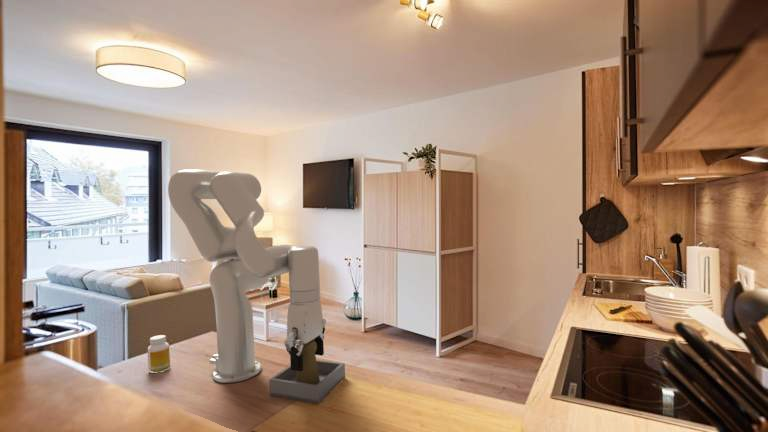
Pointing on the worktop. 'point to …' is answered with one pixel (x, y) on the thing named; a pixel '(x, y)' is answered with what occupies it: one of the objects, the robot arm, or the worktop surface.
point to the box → (290, 389)
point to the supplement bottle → (158, 354)
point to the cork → (309, 364)
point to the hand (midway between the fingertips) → (308, 362)
